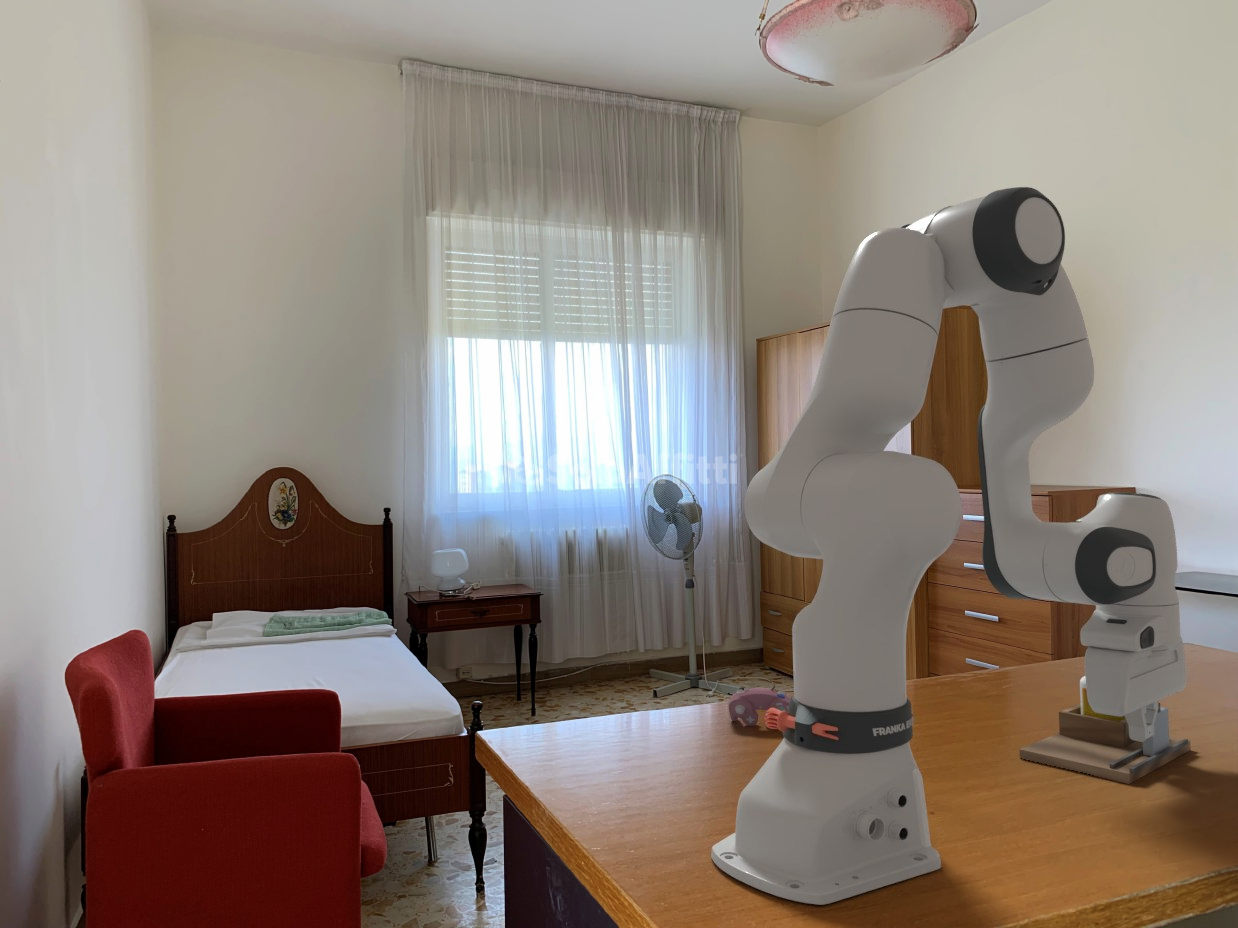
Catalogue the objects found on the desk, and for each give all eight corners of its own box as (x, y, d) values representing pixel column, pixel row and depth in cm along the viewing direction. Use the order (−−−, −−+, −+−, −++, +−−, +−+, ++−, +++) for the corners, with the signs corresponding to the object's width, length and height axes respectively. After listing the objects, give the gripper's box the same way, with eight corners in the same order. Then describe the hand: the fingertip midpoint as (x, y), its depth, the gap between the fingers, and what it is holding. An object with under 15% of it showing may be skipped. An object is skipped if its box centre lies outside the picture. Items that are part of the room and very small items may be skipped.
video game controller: (728, 735, 132) (725, 698, 129) (730, 714, 136) (727, 678, 133) (796, 737, 130) (794, 700, 127) (795, 716, 134) (794, 679, 131)
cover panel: (1153, 756, 108) (1151, 707, 108) (1143, 754, 109) (1141, 705, 109) (1169, 747, 111) (1167, 700, 111) (1159, 745, 112) (1157, 698, 112)
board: (1131, 784, 102) (1130, 748, 103) (1019, 758, 113) (1018, 725, 113) (1193, 750, 114) (1191, 717, 114) (1086, 729, 125) (1085, 699, 125)
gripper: (1144, 612, 117) (1148, 717, 116) (1072, 632, 104) (1077, 750, 104) (1198, 617, 112) (1203, 726, 111) (1130, 639, 99) (1135, 762, 99)
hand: (1142, 738), depth 107 cm, fingers closed
